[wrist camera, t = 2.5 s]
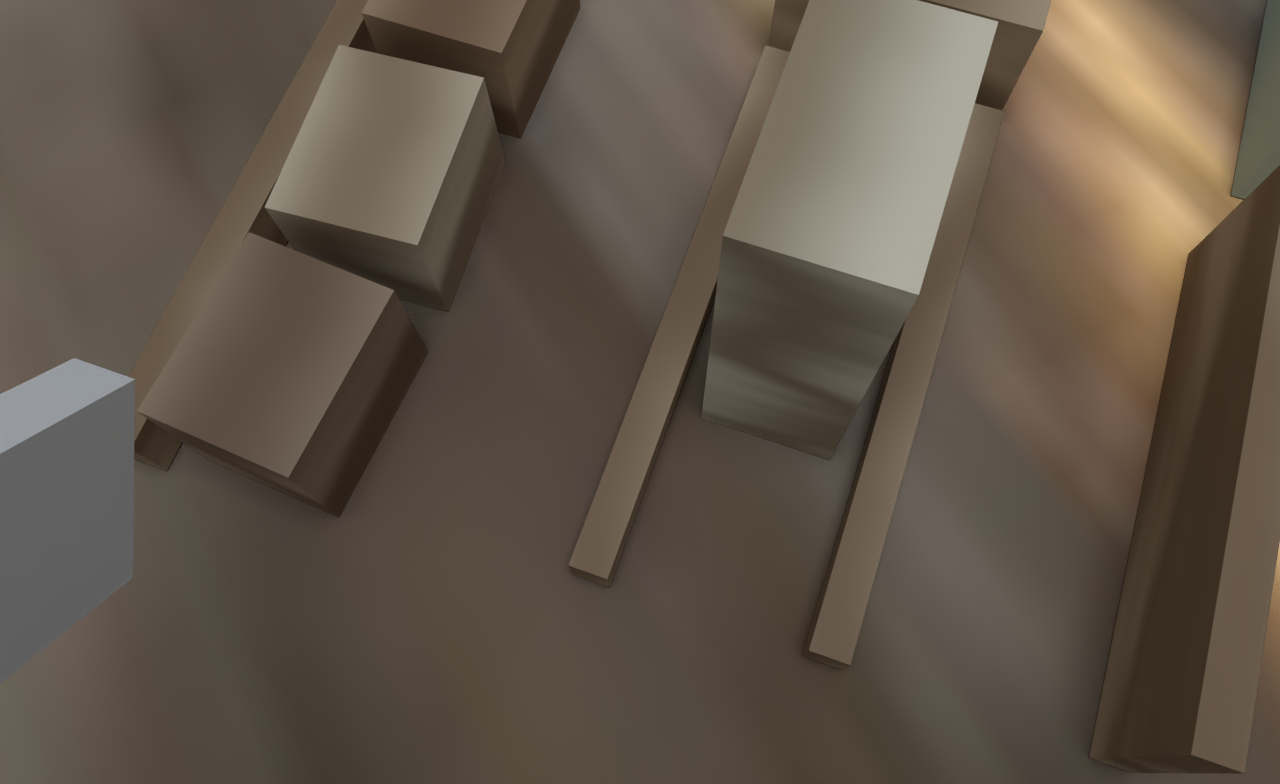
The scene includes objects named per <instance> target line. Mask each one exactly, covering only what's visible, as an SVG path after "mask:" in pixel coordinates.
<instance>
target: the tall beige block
mask: <svg viewBox="0 0 1280 784" xmlns="http://www.w3.org/2000/svg"><path fill="white" fill-rule="evenodd" d="M997 25H998V21H994V20H990V19H987V18H983V17H979V16H975V15H971V14H968V13H964V12H960V11H956V10H953V9H949V8H945V7H941V6H938V5H934V4H930V3H926V2H922V1H919V0H809V3H808V5H807V8H806V11H805V13H804V16H803V19H802V22H801V24H800V27H799V30H798V32H797V35H796V38H795V41H794V43H793V46H792V49H791V51H790V54H789V57H788V60H787V62H786V65H785V68H784V70H783V73H782V76H781V79H780V81H779V84H778V87H777V89H776V92H775V95H774V98H773V100H772V103H771V106H770V108H769V111H768V114H767V117H766V119H765V122H764V125H763V127H762V130H761V133H760V136H759V138H758V141H757V144H756V146H755V149H754V152H753V155H752V157H751V160H750V163H749V165H748V168H747V171H746V174H745V176H744V179H743V182H742V184H741V187H740V190H739V193H738V195H737V198H736V201H735V203H734V206H733V209H732V212H731V214H730V217H729V220H728V222H727V225H726V228H725V231H724V233H723V237H722V246H721V254H720V263H719V271H718V280H717V289H716V297H715V306H714V314H713V323H712V331H711V340H710V348H709V357H708V366H707V374H706V383H705V391H704V400H703V408H702V417H701V418H702V419H705V420H708V421H711V422H714V423H717V424H720V425H723V426H726V427H729V428H732V429H735V430H738V431H741V432H744V433H747V434H751V435H754V436H757V437H760V438H763V439H766V440H769V441H772V442H775V443H778V444H781V445H784V446H787V447H790V448H793V449H796V450H799V451H802V452H805V453H808V454H811V455H814V456H818V457H821V458H824V459H827V460H829V459H830V458H831V456H832V454H833V452H834V450H835V448H836V447H837V445H838V443H839V441H840V439H841V437H842V436H843V434H844V432H845V430H846V428H847V426H848V424H849V423H850V421H851V419H852V417H853V415H854V413H855V412H856V410H857V408H858V406H859V404H860V402H861V401H862V399H863V397H864V395H865V393H866V391H867V390H868V388H869V386H870V384H871V382H872V380H873V379H874V377H875V375H876V373H877V371H878V369H879V367H880V366H881V364H882V362H883V360H884V358H885V356H886V355H887V353H888V351H889V349H890V347H891V345H892V344H893V342H894V340H895V338H896V336H897V334H898V333H899V331H900V329H901V327H902V325H903V323H904V321H905V320H906V318H907V316H908V314H909V312H910V310H911V309H912V307H913V305H914V303H915V301H916V299H917V298H918V296H919V293H920V289H921V286H922V283H923V279H924V276H925V272H926V269H927V265H928V262H929V259H930V255H931V252H932V248H933V245H934V241H935V238H936V234H937V231H938V228H939V224H940V221H941V217H942V214H943V210H944V207H945V203H946V200H947V197H948V193H949V190H950V186H951V183H952V179H953V176H954V173H955V169H956V166H957V162H958V159H959V155H960V152H961V148H962V145H963V142H964V138H965V135H966V131H967V128H968V124H969V121H970V118H971V114H972V111H973V107H974V104H975V100H976V97H977V93H978V90H979V87H980V83H981V80H982V76H983V73H984V69H985V66H986V63H987V59H988V56H989V52H990V49H991V45H992V42H993V38H994V35H995V32H996V28H997Z"/></svg>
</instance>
